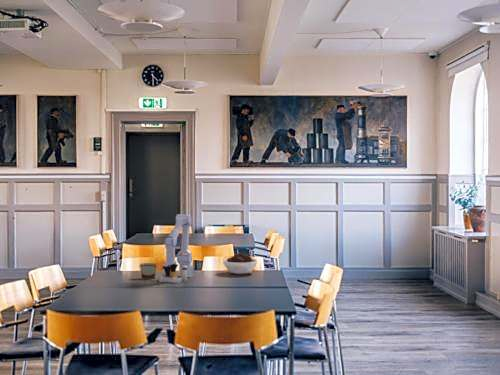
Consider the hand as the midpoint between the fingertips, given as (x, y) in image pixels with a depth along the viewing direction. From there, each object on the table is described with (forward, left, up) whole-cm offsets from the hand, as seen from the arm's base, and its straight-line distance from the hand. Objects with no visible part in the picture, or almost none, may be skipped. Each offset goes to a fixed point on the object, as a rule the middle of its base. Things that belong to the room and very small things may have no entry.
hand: (170, 275), depth 394 cm
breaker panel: (-1, 0, -4) cm, 4 cm away
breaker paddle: (-2, -1, -1) cm, 3 cm away
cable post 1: (-2, -10, -4) cm, 11 cm away
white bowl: (-59, +4, -4) cm, 59 cm away
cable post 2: (-9, +3, -4) cm, 11 cm away
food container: (+2, -22, -4) cm, 23 cm away
